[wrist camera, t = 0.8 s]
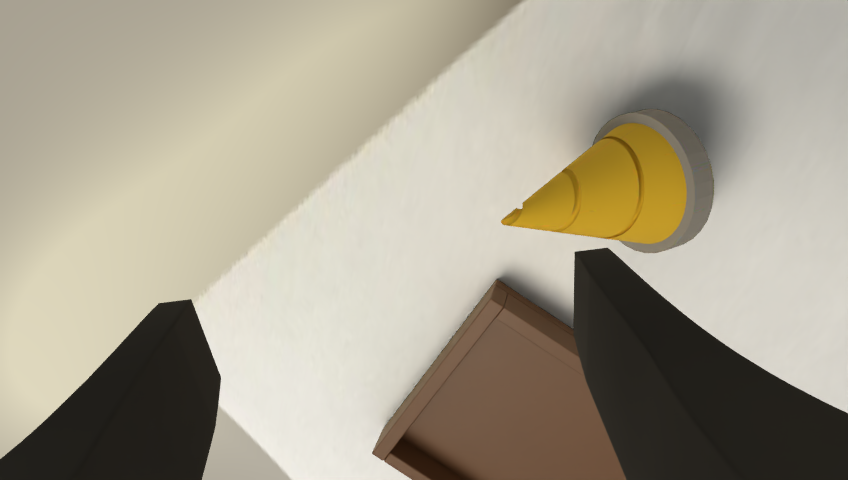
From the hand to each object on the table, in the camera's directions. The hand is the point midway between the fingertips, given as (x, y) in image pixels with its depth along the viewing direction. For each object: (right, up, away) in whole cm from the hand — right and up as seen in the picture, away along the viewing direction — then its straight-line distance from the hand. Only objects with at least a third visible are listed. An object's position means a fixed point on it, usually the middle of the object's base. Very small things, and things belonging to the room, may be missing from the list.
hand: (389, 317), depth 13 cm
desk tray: (+8, -9, +21) cm, 24 cm away
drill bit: (+9, +4, +16) cm, 19 cm away
